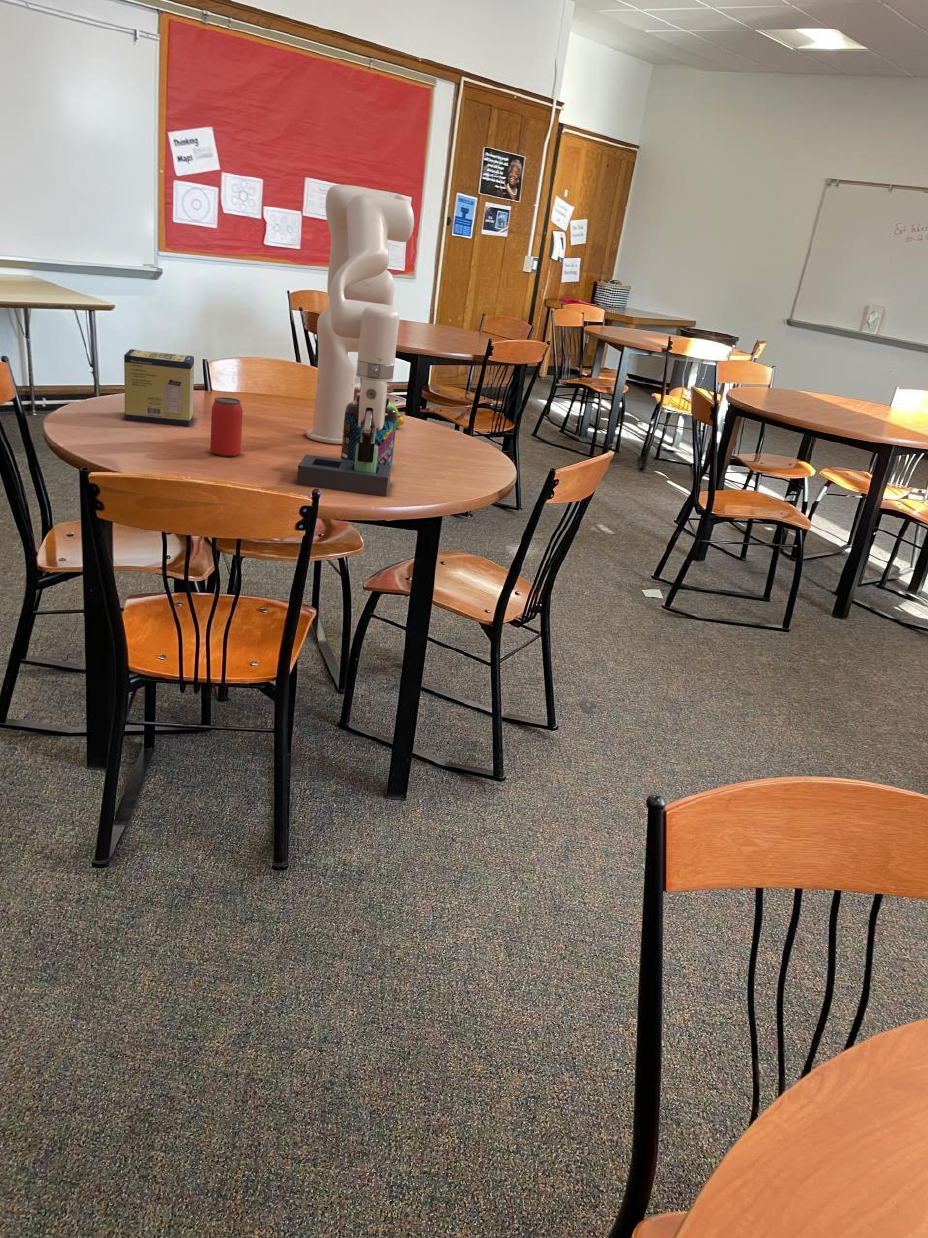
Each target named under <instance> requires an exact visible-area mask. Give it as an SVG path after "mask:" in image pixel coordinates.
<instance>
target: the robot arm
mask: <svg viewBox="0 0 928 1238" xmlns="http://www.w3.org/2000/svg"><path fill="white" fill-rule="evenodd" d="M324 209H325V217H326V221H327V226H328V230H329V235H330V249H329V250H330V251H329V260H328V269H327V270H328V272H327V283H326V284H327V286H326V287H327V290H326V291H327V295H328V299H329V301H328V302H329V309H326V310H324V311H322V312H321V313H320V314H319V316H318V318H317V323H316V328H317V329H316V332H317V348H318V349H317V351H318V352H317V353H318V354H317V355H318V356H317V370H316V371H317V372H316V386H315V399H314V411H313V426H312V428H310V429H307V430H306V437H307V438H309V439H311V440H313V441H315V442H321V443H325V444H333V445H342V440H343V429H344V418H345V409H346V406H347V405H348V404H349V403H351V402H354V399H355V390H356V389H355V388H356V378H359V379H361V380H360V391H359V392H360V401H359V420H358V426H359V427H360V428H361V427H362V428H361V437H360V442H359V448H358V459H357V460H358V461H360V462H368V463H372V462H373V455H374V446H375V445H376V440H377V438H376V431H377V428H378V430H379V431H380V430H381V429H382V428H383V425H384V417H385V407H386V397H387V396H388V383H391V382H393V380H394V371H395V362H396V354H397V342H398V334H399V328H400V315H399V313H398V312H397V310H396V308H394V307H393V304H394V293H395V282H394V278H393V275H392V273H391V272H390V271H389V270H388V269H387V268H388V267H389V265H390V255H389V241H392V242H399V243H405V242H408V241H409V240H410V239H411V237H412V236H413V233H414V228H415V217H414V211H413V208H412V204H411V203H410V202H409V200H408V199H407V198H405V197H404V196H402V195H401V194H399V193H396V192H391V191H386V190H380V189H374V188H369V187H364V186H359V185H351V184H335V185H332V186H330V187H329V188H328V190H327V192H326V196H325V208H324ZM348 353H357V360H356V367H355V364H354V363H353V361H352V360H351V359H350V357H349V355H348ZM374 434H375V443H374ZM373 443H374V444H373Z"/></svg>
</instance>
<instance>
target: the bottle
mask: <svg viewBox="0 0 928 1238" xmlns="http://www.w3.org/2000/svg"><path fill="white" fill-rule="evenodd" d="M374 443H375V434H374ZM374 443H373V444H374ZM358 448H359V443H357V444H356V453H355V464H354V470H356V471H363V472H371V473H376V465H377V456H378V446H377V445H375V446H374V455H373V462H372V463H368V462H360V461H358V460H357V459H358Z"/></svg>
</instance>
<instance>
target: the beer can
mask: <svg viewBox="0 0 928 1238" xmlns="http://www.w3.org/2000/svg"><path fill="white" fill-rule="evenodd" d="M241 402H242V401H241V400H240V399H237V398H233V397H226V396H221V397H220V396H219V397H218V396H217V397H215V398H214V401H213V403H212V406H211V418H210V420H211V421H210V446H209V447H210V449H209V450H210V452H211V453H212V454H213V455H216V456H219V457H226V458H233V457H237V456H239V455H240V454H241V452H242V434H243V415H244V414H243V413H244V412H243V407H242V404H241Z"/></svg>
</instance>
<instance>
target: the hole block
mask: <svg viewBox="0 0 928 1238" xmlns="http://www.w3.org/2000/svg"><path fill="white" fill-rule="evenodd" d="M354 464H355V461H351V460H344V459H341V458H336V457H330V456H321V455H314V454H307V453H306V454H305V455H304V456H303V458H302V459H301V460H300V462H299V464H298V465H297V477H296V485H298V486H299V485H301V486H307V487H314V488H321V489H329V490H337V491H345V492H352V493H357V494H358V493H359V494H366V495H374V496H382V497H387V495H388V491H389V487H390V482H391V472H392V465H391V466H387V465H380V464H377V465H376V473H371V472H363V471H356V470H354Z"/></svg>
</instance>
